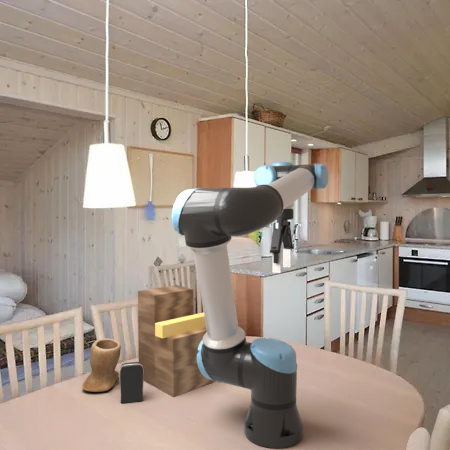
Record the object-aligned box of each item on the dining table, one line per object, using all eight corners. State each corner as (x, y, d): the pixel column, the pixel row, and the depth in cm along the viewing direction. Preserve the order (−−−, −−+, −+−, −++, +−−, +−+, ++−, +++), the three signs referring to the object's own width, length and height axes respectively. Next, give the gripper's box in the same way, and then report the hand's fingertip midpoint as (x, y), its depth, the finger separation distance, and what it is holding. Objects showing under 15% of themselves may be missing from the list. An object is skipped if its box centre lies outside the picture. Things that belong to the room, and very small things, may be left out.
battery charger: (143, 396, 135) (142, 359, 134) (143, 401, 131) (143, 364, 130) (120, 398, 133) (119, 361, 133) (120, 404, 129) (119, 366, 129)
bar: (221, 319, 156) (221, 308, 156) (228, 321, 153) (228, 310, 153) (155, 335, 137) (155, 323, 137) (162, 338, 134) (162, 325, 134)
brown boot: (116, 395, 136) (115, 347, 135) (77, 394, 136) (77, 347, 135) (127, 375, 151) (126, 333, 150) (93, 375, 151) (92, 333, 150)
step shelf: (176, 366, 160) (176, 285, 158) (212, 382, 145) (212, 293, 143) (138, 378, 149) (137, 291, 147) (173, 397, 134) (172, 300, 133)
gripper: (281, 207, 161) (280, 264, 162) (260, 208, 138) (260, 274, 139) (301, 207, 159) (300, 265, 160) (283, 208, 136) (283, 276, 137)
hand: (282, 270), depth 149 cm, fingers open, 13 cm apart
